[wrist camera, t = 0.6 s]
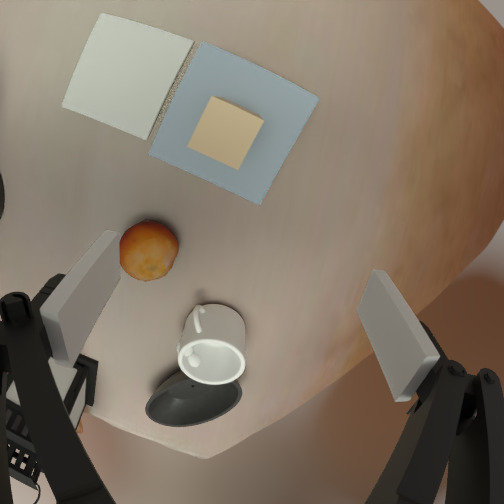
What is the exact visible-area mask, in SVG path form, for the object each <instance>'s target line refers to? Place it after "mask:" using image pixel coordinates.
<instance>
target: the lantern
mask: <svg viewBox="0 0 504 504" xmlns="http://www.w3.org/2000/svg"><path fill="white" fill-rule="evenodd" d="M48 362H49V365H50V368H51V371H52V374H53V376H54V379H55V382H56V385H57V387H58V390H59V392H60V395H61V397H62V400H63V402H64V405H65V407H66V410H67V412H68V414H69V416H70V419H71V421H72V423H73V425H74V428H75V430H76V429H77V427H78V424H79V421H80V418H81V416H82V413H83V411H84V408H85V405H86V404H87V405H89V406H93V404H94V394H95V385H96V376H97V368H98V361H96V360H94V359H91V358H89V357H87V356H84V355H82V354H80V353H79V355H78V357H77V359H76V361H75V363H74V366H73V368H72V369H71V368H68V367H64V366H61V365H58V364H55V361H54V358H53V355H51V357H50V359H49V360H48ZM6 438H7V455H8V467H9V476H11V477H13V478H15V479H16V480H18V481H20V482H22V483H24V484H26V485H28V486H30V487H32V488H34V489H36V490H38V489H37V487H36V484H37V480H38V477H39V474H40V472H43V473H44V471H43V469H42V467H41V464H40V462H39V459H38V457H37V454H36V451H35V449H34V446H33V443H32V440H31V438H30V435H29V432H28V429H27V426H26V422H25V419H24V416H23V413H22V409H21V406H20V402H19V398H18V395H17V391H16V387H15V383H14V378H13V374H12V372H9V373H8V375H7V389H6ZM8 444H9V445H10V447H9V446H8ZM16 449H18V450H20V452H19V453H17V452H15V451H16ZM25 454H27V455H29V457H28V458H26V457H24V455H25ZM12 457H14V458H16V459H17V460H16V462H15V465H14V464H12V463H10V462H11V460H12ZM36 461H37V463H36ZM22 462H23V463H25V464H26V466H25V469H24V470H23V469H21V468H20V465H21V463H22ZM33 469H34V472H33V475H32V476H31V474H32V471H33ZM37 485H38V484H37ZM38 488H39V494H38V498H37V500H36V502H35V503H34V504H36V503H37V502H38V500H39V498H40V486H39V485H38Z"/></svg>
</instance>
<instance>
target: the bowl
mask: <svg viewBox="0 0 504 504" xmlns="http://www.w3.org/2000/svg"><path fill="white" fill-rule="evenodd" d="M241 396H242V389H241V387H240V384H239V382H238V381H237V379H235V380H234V381H231V382H229V383H225V384H219V385H211V384H204V383H201V382H198V381H195V380H193V379H191V378H190V377H188V376H187V375H186V374H185V373H184V372H183V371H182V370H180V371H178V372H177V373H175V374H174V375H172V376H171V377H169V378H168V379H167V380H166V381H165V382H163V383H162V384H161V385H160V386H159V387H158V389H157V390H156V391H155V392H154V393H153V395H152V396H151V398H150V399H149V401H148V402H147V404H146V408H145V411H146V414H147V415H148V417H149V418H150V419H151V420H153V421H155V422H157V423H159V424H162V425H166V426H172V427H186V426H193V425H198V424H202V423H205V422H208V421H211V420H213V419H216V418H218V417H220V416H222V415H224V414H225V413H227V412H228V411H230V410H231V409H232V408H233V407H235V406H236V405H237V403H238V402H239V401H240V399H241Z"/></svg>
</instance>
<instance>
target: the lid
mask: <svg viewBox="0 0 504 504" xmlns="http://www.w3.org/2000/svg"><path fill="white" fill-rule="evenodd" d="M319 99H320V98H319V97H317V96H315V95H313V94H312V93H310V92H308V91H306V90H304V89H303V88H301V87H299V86H297V85H295V84H293V83H292V82H290V81H288V80H286V79H284V78H282V77H280V76H278V75H276V74H274V73H272V72H270V71H268V70H266V69H264V68H262V67H260V66H258V65H256V64H254V63H252V62H249V61H247V60H245V59H243V58H241V57H239V56H236V55H234V54H232V53H229V52H227V51H225V50H222V49H220V48H218V47H215V46H213V45H210V44H208V43H205V42H203V41H202V43H201V45H200V46H199V48H198V50H197V52H196V54H195V56H194V57H193V59H192V61H191V63H190V65H189V67H188V69H187V71H186V73H185V75H184V77H183V79H182V81H181V83H180V85H179V87H178V89H177V91H176V93H175V95H174V97H173V99H172V101H171V103H170V105H169V108H168V110H167V112H166V114H165V116H164V118H163V121H162V123H161V125H160V127H159V130H158V132H157V134H156V137H155V139H154V141H153V144H152V146H151V149H150V151H149V153H148V155H150V156H153V157H155V158H157V159H160V160H162V161H164V162H166V163H169V164H171V165H173V166H175V167H178V168H180V169H182V170H184V171H186V172H189V173H191V174H193V175H195V176H197V177H200V178H202V179H204V180H206V181H208V182H211V183H213V184H215V185H217V186H219V187H221V188H223V189H226V190H228V191H230V192H232V193H234V194H236V195H238V196H240V197H242V198H245V199H247V200H249V201H251V202H253V203H255V204H257V205H259V206H260V204H261V202H262V200H263V198H264V197H265V195H266V193H267V191H268V189H269V188H270V186H271V184H272V182H273V180H274V179H275V177H276V175H277V173H278V172H279V170H280V168H281V166H282V164H283V163H284V161H285V159H286V157H287V155H288V154H289V152H290V150H291V148H292V147H293V145H294V143H295V141H296V139H297V138H298V136H299V134H300V132H301V131H302V129H303V127H304V125H305V124H306V122H307V120H308V118H309V117H310V115H311V113H312V111H313V110H314V108H315V106H316V104H317V103H318V101H319Z"/></svg>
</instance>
